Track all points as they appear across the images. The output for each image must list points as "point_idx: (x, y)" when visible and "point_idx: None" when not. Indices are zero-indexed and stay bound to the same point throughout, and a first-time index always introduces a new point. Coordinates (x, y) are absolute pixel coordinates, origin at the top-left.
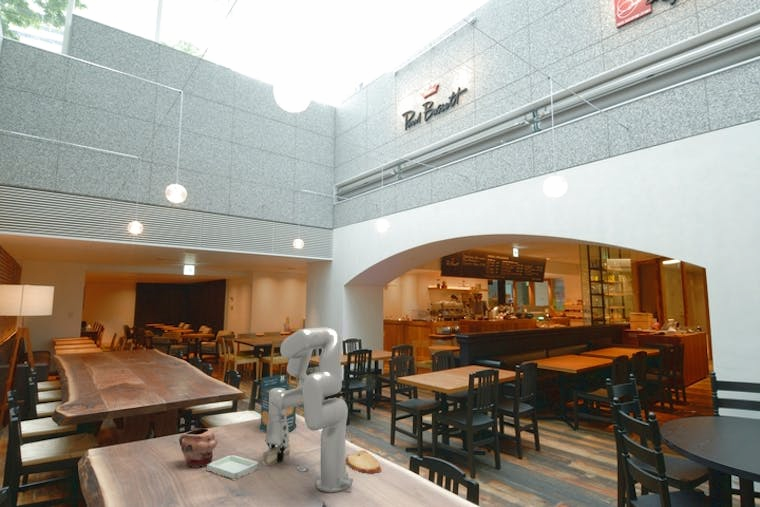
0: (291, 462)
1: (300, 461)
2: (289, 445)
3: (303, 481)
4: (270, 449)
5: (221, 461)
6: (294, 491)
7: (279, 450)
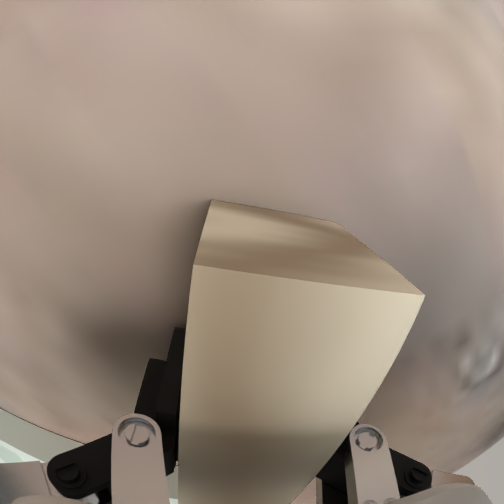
0: (410, 333)
1: (470, 283)
2: (421, 302)
3: (481, 424)
4: (181, 491)
5: (9, 459)
6: (454, 461)
7: (335, 486)
